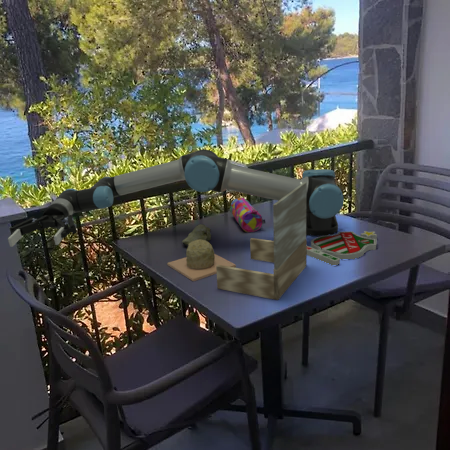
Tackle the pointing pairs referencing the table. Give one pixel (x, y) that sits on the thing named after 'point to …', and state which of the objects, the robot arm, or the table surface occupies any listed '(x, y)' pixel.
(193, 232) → the rock
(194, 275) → the terracotta tile
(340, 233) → the decorative emblem
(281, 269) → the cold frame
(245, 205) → the pencil case
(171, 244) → the table surface
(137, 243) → the table surface
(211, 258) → the olive rounded lump
